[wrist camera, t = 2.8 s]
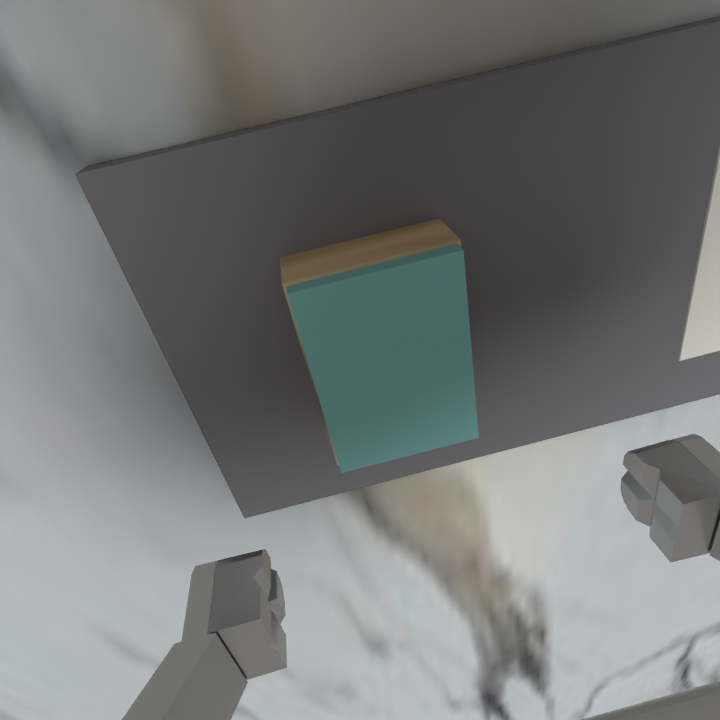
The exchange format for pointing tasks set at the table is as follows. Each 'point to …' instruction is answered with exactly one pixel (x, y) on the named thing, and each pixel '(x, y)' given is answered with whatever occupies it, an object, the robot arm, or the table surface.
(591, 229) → the rubber mat
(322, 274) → the teal flat block
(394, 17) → the table surface
